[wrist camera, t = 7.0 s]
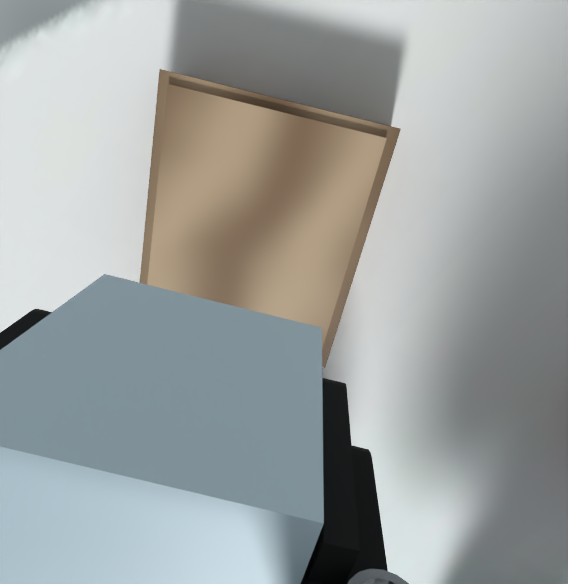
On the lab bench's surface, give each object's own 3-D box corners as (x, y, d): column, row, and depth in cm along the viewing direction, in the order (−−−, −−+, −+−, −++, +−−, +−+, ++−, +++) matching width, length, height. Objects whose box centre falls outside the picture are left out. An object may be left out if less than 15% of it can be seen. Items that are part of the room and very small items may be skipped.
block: (321, 327, 11) (323, 523, 5) (273, 486, 13) (242, 734, 8) (104, 274, 10) (-100, 422, 5) (92, 443, 13) (-62, 665, 7)
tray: (390, 126, 22) (401, 129, 19) (324, 341, 27) (324, 370, 24) (180, 74, 22) (157, 68, 19) (155, 300, 27) (134, 323, 24)
